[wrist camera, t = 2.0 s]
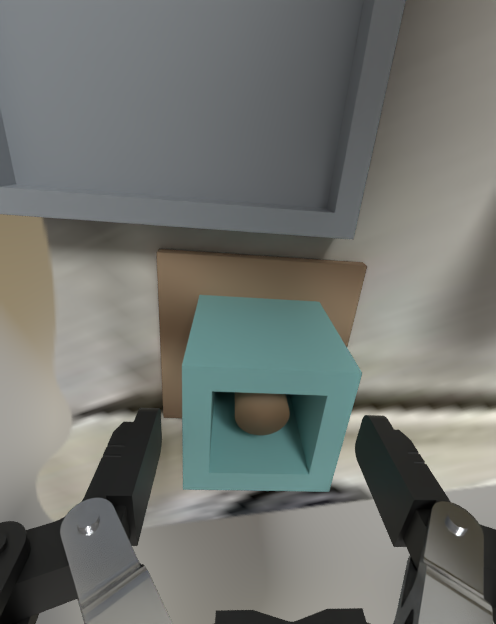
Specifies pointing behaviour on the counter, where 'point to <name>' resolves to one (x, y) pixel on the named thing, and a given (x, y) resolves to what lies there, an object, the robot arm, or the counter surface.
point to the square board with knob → (252, 284)
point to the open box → (264, 379)
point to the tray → (193, 111)
